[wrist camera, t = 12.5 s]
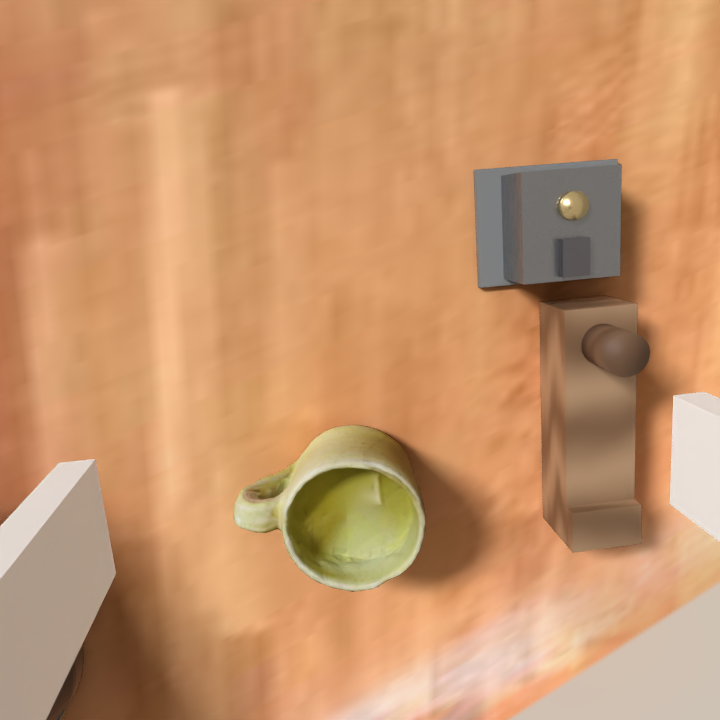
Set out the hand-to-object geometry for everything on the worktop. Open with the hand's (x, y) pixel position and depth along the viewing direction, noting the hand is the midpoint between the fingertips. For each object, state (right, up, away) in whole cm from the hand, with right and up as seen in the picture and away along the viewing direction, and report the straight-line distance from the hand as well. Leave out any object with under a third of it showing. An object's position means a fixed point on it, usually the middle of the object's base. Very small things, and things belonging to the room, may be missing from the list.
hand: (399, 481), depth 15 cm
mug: (-3, -6, +34) cm, 35 cm away
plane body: (+15, -1, +35) cm, 38 cm away
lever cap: (+12, +12, +31) cm, 35 cm away
